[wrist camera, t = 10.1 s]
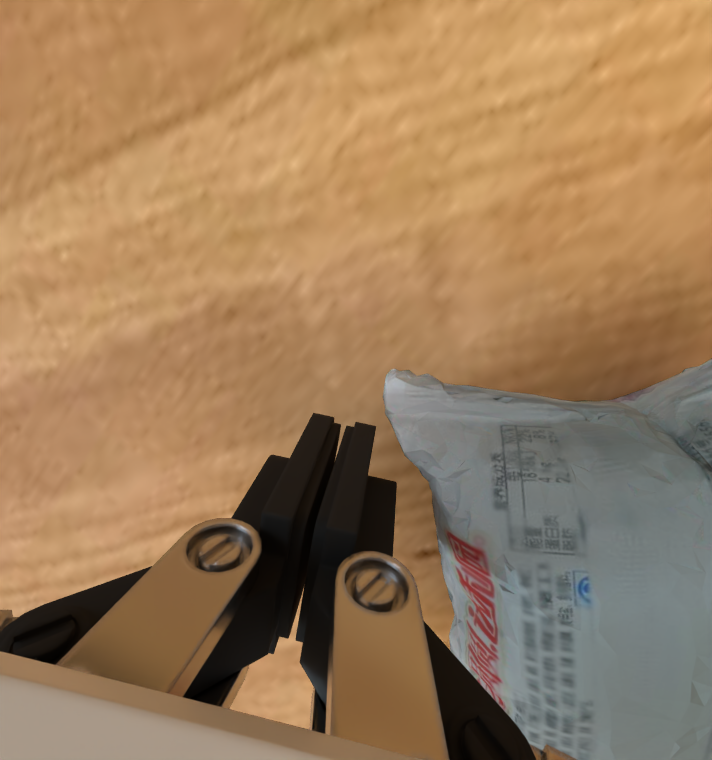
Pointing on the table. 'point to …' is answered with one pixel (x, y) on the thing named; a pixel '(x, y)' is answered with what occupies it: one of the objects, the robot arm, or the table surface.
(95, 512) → the table surface
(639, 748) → the packaged food
